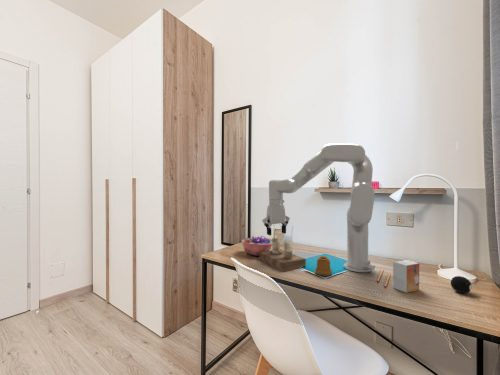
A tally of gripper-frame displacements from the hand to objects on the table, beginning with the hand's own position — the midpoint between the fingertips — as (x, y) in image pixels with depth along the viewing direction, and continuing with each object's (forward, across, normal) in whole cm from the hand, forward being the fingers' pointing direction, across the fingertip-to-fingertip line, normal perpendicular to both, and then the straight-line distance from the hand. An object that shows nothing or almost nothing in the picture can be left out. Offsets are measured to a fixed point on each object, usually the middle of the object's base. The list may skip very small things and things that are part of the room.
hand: (276, 234), depth 132 cm
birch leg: (+14, 0, 0) cm, 15 cm away
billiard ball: (+16, -38, +66) cm, 78 cm away
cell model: (+14, +4, -16) cm, 22 cm away
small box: (+16, -24, +54) cm, 61 cm away
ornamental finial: (+15, -7, +26) cm, 31 cm away
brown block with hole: (+14, 0, +4) cm, 15 cm away
